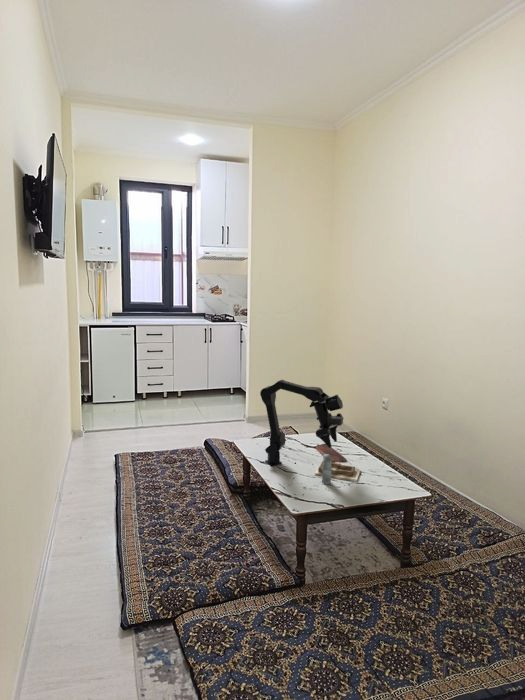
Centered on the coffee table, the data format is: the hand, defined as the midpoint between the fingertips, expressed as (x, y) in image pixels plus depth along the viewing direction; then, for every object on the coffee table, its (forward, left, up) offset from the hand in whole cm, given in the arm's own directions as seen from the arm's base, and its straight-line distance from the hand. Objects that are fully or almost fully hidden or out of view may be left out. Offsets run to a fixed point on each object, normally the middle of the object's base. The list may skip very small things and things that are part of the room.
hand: (333, 444), depth 226 cm
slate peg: (+6, -8, -15) cm, 18 cm away
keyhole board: (0, +4, -15) cm, 16 cm away
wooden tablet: (-22, +17, -16) cm, 32 cm away
